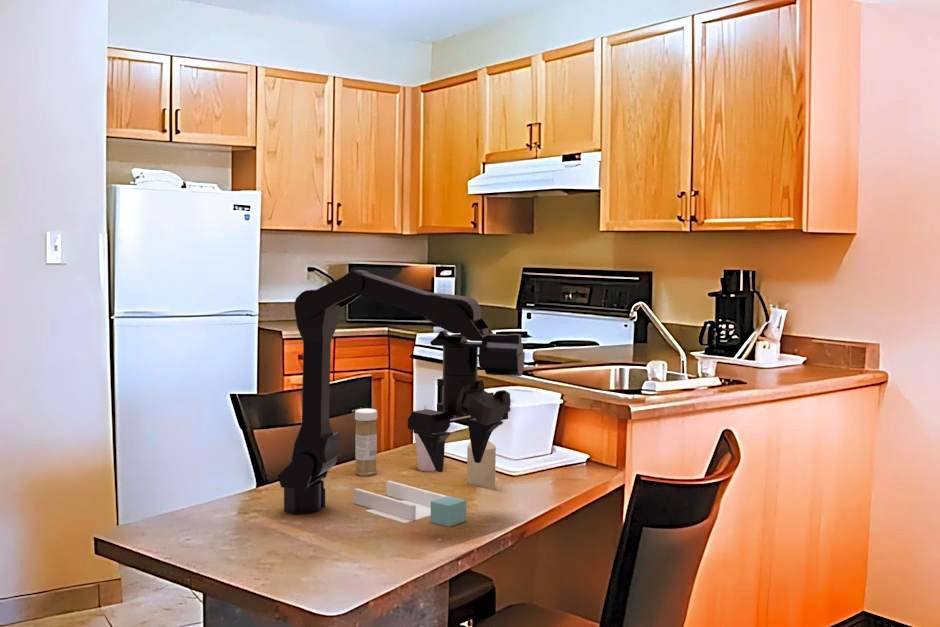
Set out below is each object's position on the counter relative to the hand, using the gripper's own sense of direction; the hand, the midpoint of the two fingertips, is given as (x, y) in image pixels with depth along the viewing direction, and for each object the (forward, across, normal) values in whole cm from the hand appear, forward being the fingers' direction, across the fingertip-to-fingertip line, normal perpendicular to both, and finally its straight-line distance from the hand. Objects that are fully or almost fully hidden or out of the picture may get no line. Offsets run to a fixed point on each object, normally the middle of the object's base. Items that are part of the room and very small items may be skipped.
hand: (458, 467), depth 151 cm
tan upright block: (+11, +23, +16) cm, 30 cm away
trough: (+11, 0, +14) cm, 18 cm away
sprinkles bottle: (+11, +15, +40) cm, 45 cm away
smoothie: (+11, +27, +34) cm, 45 cm away
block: (+9, 0, +4) cm, 10 cm away
